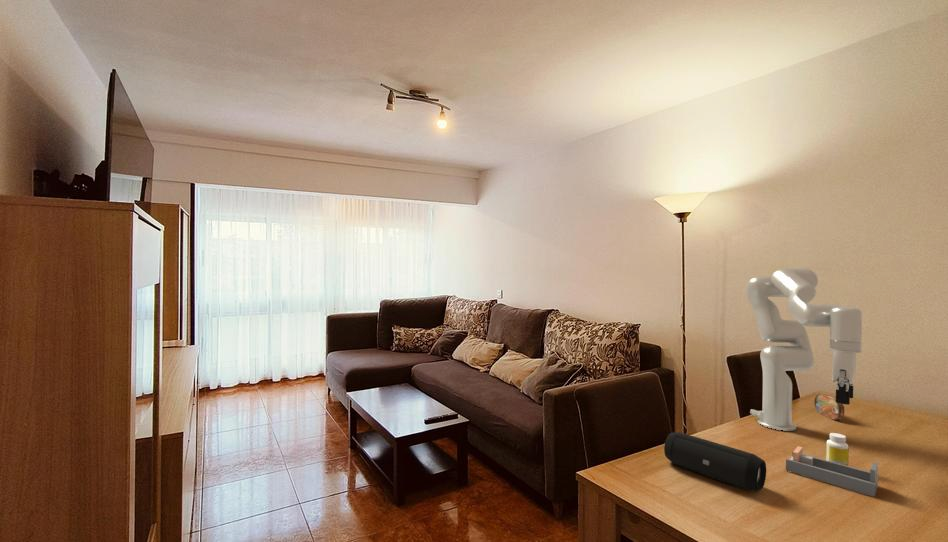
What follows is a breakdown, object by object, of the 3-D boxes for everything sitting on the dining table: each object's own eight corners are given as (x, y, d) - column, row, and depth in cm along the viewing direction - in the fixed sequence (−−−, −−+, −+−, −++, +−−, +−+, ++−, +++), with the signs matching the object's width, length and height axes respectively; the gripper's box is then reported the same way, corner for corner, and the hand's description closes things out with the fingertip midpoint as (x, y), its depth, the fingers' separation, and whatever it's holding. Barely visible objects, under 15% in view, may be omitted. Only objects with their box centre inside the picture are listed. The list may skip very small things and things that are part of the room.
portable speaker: (662, 465, 135) (663, 434, 135) (676, 456, 141) (677, 426, 141) (755, 499, 116) (756, 462, 115) (767, 487, 122) (767, 452, 122)
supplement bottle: (852, 470, 132) (853, 439, 132) (832, 469, 133) (833, 437, 133) (841, 462, 138) (841, 432, 138) (822, 461, 139) (822, 431, 139)
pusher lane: (785, 470, 132) (786, 448, 132) (792, 462, 138) (793, 440, 138) (874, 497, 117) (874, 471, 117) (877, 486, 123) (878, 461, 123)
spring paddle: (792, 467, 132) (793, 451, 132) (797, 460, 136) (797, 446, 136) (809, 472, 128) (810, 456, 128) (814, 465, 133) (814, 450, 133)
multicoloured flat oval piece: (813, 410, 189) (813, 391, 189) (821, 410, 188) (821, 391, 188) (837, 422, 174) (837, 402, 174) (846, 423, 174) (846, 402, 173)
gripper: (833, 341, 144) (833, 392, 144) (825, 347, 132) (825, 403, 132) (863, 344, 138) (863, 397, 138) (858, 351, 126) (857, 409, 126)
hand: (844, 400), depth 135 cm, fingers open, 9 cm apart
